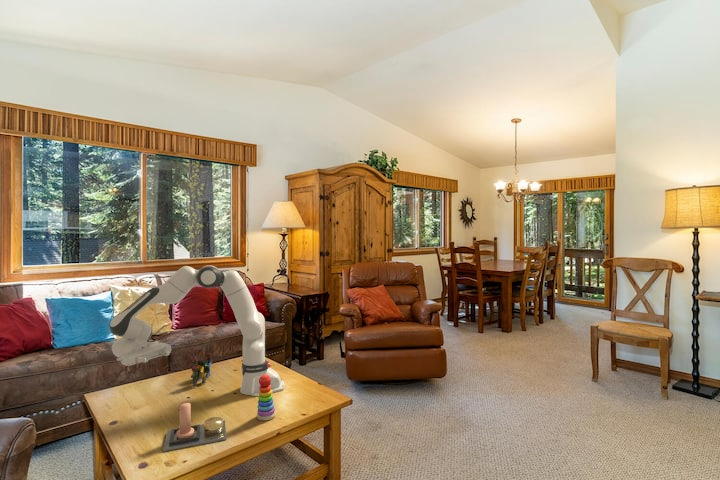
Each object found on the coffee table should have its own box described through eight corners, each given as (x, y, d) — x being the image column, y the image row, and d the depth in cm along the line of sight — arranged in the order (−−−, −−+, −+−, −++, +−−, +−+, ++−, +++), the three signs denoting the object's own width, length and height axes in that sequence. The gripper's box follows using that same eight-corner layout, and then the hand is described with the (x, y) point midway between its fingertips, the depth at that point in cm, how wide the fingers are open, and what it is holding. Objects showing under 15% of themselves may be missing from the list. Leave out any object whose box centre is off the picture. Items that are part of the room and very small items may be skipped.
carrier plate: (225, 423, 164) (224, 411, 164) (226, 439, 151) (225, 427, 151) (167, 433, 156) (167, 421, 156) (163, 451, 143) (163, 438, 143)
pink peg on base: (194, 429, 156) (193, 400, 156) (194, 437, 150) (193, 406, 150) (176, 433, 154) (176, 403, 154) (175, 440, 148) (175, 409, 148)
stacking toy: (258, 413, 173) (257, 371, 172) (276, 412, 173) (275, 370, 173) (255, 421, 165) (254, 378, 164) (274, 420, 165) (273, 377, 165)
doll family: (197, 374, 220) (197, 351, 220) (214, 372, 222) (214, 349, 222) (190, 390, 198) (189, 364, 197) (208, 388, 200) (208, 363, 200)
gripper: (114, 351, 163) (133, 356, 156) (159, 339, 181) (178, 343, 174) (114, 366, 163) (133, 372, 156) (160, 352, 181) (178, 357, 174)
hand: (157, 357), depth 165 cm, fingers open, 8 cm apart
